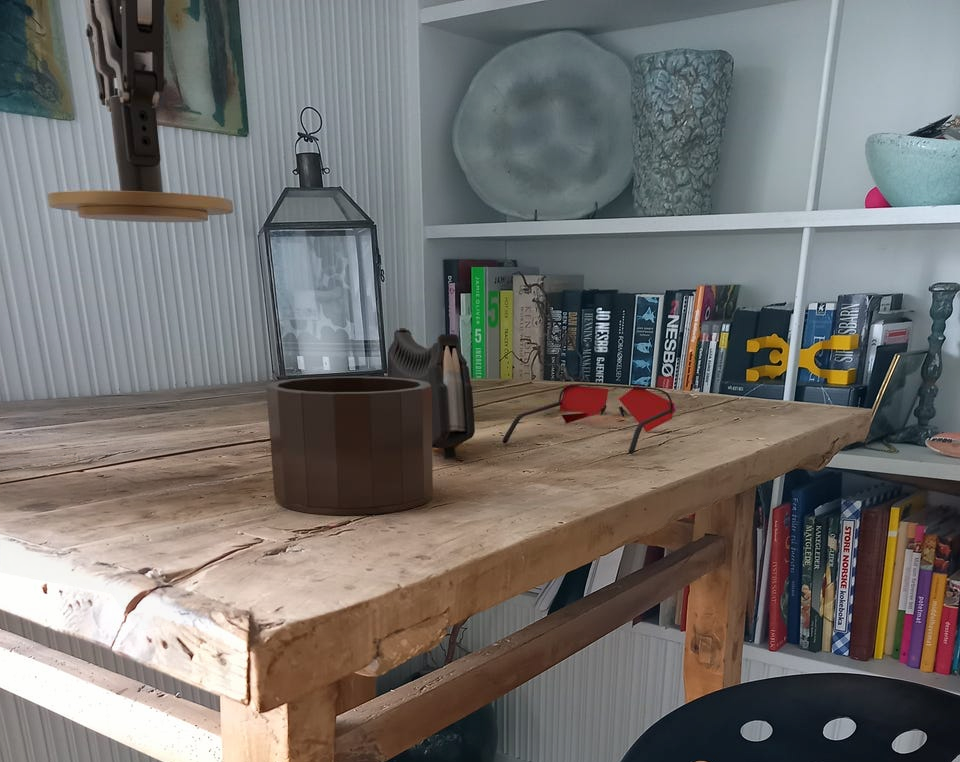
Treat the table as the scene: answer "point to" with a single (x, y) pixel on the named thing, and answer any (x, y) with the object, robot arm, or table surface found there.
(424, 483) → the brown faceted tub
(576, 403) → the glasses
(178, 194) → the lid
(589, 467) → the table surface
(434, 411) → the magazine
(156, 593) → the table surface
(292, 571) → the table surface
